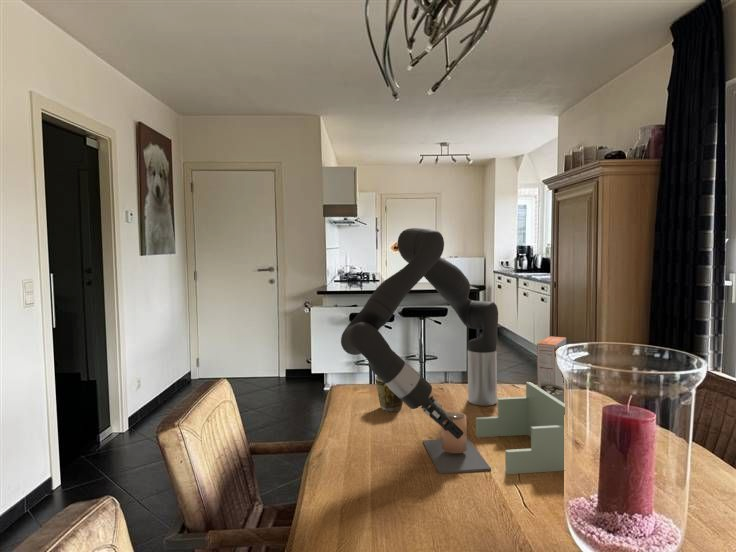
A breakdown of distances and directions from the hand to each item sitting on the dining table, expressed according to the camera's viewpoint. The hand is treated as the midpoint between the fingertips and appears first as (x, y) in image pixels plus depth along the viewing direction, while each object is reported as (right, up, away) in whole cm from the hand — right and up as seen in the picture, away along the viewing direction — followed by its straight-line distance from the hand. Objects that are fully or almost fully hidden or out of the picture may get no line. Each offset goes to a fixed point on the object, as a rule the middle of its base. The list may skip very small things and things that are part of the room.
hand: (456, 430), depth 117 cm
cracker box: (+37, -4, +37) cm, 52 cm away
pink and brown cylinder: (-1, -4, 0) cm, 4 cm away
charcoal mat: (-1, -6, 0) cm, 6 cm away
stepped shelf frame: (+15, -6, +2) cm, 17 cm away
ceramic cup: (-15, -5, +35) cm, 38 cm away
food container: (+32, -5, +20) cm, 38 cm away
